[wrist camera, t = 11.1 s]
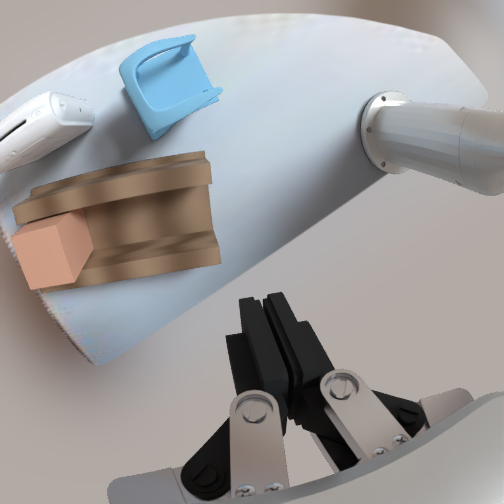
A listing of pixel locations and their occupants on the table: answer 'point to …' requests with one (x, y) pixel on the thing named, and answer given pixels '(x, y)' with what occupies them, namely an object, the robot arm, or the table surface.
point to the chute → (135, 217)
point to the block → (53, 248)
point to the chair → (167, 83)
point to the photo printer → (42, 127)
